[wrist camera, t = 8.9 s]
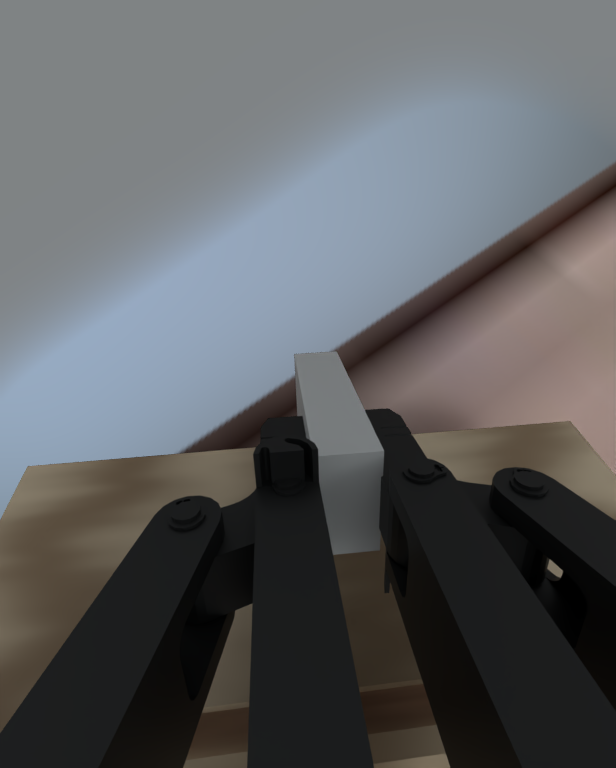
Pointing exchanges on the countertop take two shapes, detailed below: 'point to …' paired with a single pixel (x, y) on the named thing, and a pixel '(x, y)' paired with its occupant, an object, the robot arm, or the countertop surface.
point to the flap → (226, 486)
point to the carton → (383, 722)
